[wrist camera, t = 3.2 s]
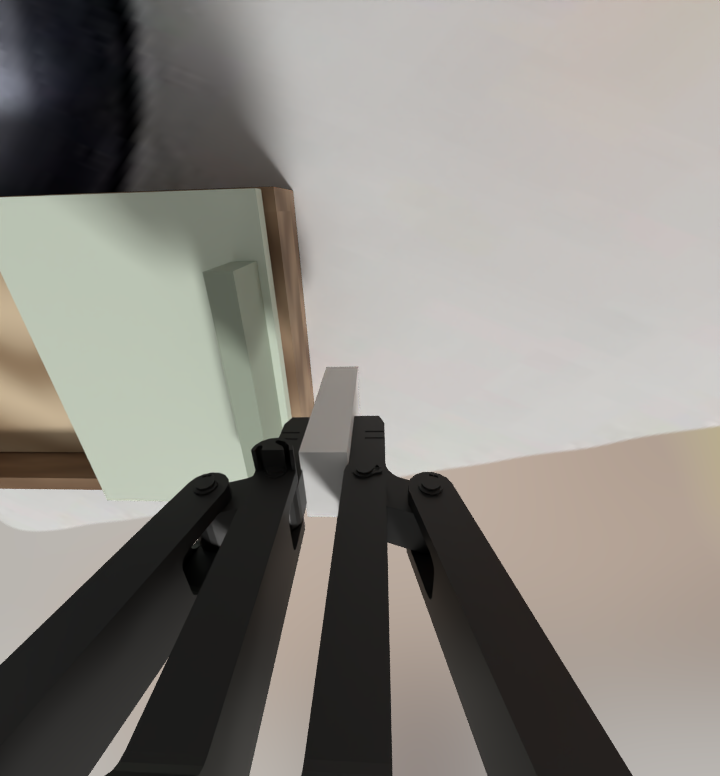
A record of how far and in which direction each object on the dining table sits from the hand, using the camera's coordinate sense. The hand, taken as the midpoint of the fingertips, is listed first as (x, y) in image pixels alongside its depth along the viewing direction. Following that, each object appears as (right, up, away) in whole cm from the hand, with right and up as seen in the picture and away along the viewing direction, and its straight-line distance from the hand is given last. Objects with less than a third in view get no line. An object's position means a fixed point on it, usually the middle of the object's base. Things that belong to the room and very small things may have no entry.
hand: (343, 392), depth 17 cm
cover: (-10, +1, +3) cm, 10 cm away
